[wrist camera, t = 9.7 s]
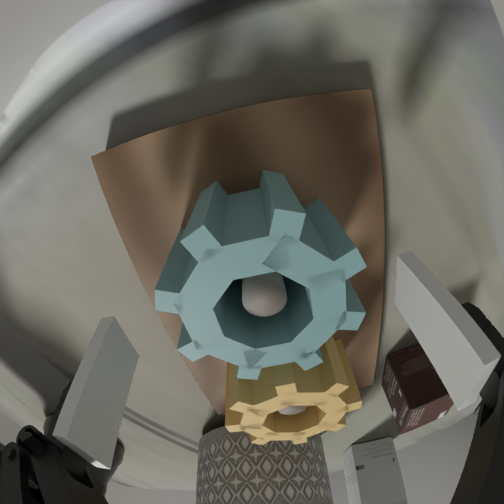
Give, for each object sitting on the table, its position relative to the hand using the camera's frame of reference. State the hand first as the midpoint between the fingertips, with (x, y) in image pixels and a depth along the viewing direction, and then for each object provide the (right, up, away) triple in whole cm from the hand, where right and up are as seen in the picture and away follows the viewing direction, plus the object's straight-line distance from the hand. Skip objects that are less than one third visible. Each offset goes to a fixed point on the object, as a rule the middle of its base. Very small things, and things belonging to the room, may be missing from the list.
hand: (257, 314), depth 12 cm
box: (+17, -9, +15) cm, 25 cm away
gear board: (+1, 0, +9) cm, 9 cm away
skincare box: (+20, -31, +27) cm, 46 cm away
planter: (+1, -23, +21) cm, 31 cm away
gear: (0, +3, +5) cm, 6 cm away
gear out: (+2, -6, +10) cm, 11 cm away
